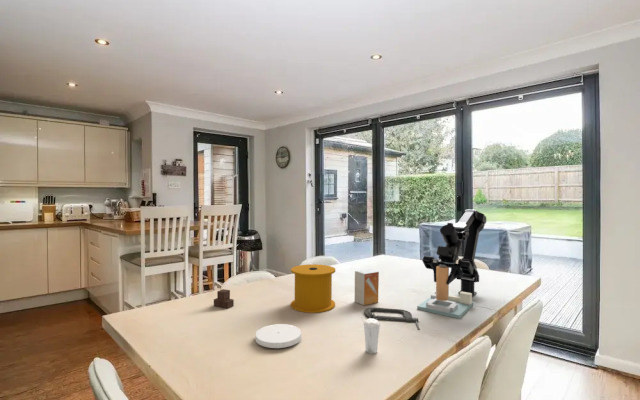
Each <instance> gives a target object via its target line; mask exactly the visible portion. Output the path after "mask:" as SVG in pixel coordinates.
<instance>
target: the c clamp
mask: <svg viewBox="0 0 640 400" xmlns="http://www.w3.org/2000/svg"><path fill="white" fill-rule="evenodd" d="M363 312H364V315H366V317H368V319H369V318H372V319H375V320H382V321H383V320H384V321H396V322H405V323H415V326H416V328H417V330H418V331H420V330H421V329H420V326H419V318H418V317H413V314H412V313H411V311H409V310H405V309H402V308H401V309H399V308H387V307H375V306H374V307H366V308H364V311H363ZM375 313H390V314H399V315H402V316H403V317H402V316H390V315H389V316H387V315H376V314H375Z"/></svg>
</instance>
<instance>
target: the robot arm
mask: <svg viewBox="0 0 640 400" xmlns="http://www.w3.org/2000/svg"><path fill="white" fill-rule="evenodd" d="M486 224H487V216H486V215H485V213H481V212H480V211H478V210H477V209H465V210H464V212H463V215H462V216H461V218H460V219H459V220H458V222H455V223H453V222H447V224H445V225H443V226H441V228H440V229H439V232H440V234H441V237H442V240H443V242H444V243H445V246H442V245H438V246H437V250H436V255H438V259H439V260H438V259H435V257H434V256H429V255H424V256H423V257H422V259H421V260H422V261H421V262H422V264H424V267H425V268H426V269H428V270H432V272H433V282H434V283H436V266H439V265H441V264H442V265H446V267H449V269H450V271H449V277H448V280H447V285H450V284H451V283H452V282H453V281H454V280H460V291H458V292H457V293H458V294H459V295H460V292H468V293H472V297H474V296H475V295H476V294H477V291H475V283H479V282H480V275H479V272H478V269H477V268H478V267H477V264H476V263H475V256H476V251H477V246H478V240H479V235H480V233H481V231H483V230H484V228H485V225H486ZM462 241H466V242H465V248H464V252H463V257H462V258H459V254H460V252H461V250H462V249H463V246H462V245H463V243H462Z"/></svg>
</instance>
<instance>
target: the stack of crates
mask: <svg viewBox="0 0 640 400" xmlns="http://www.w3.org/2000/svg"><path fill="white" fill-rule="evenodd" d="M234 301H235V300H234V299H233V298H231V290H230V289H222V288H221V289H220V290H217V298H214V299H213V307H215V308H220V309H221V308H222V309H227V310H228V309H231V308H233V307H234V304H235V303H234Z"/></svg>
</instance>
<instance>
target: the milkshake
mask: <svg viewBox="0 0 640 400" xmlns="http://www.w3.org/2000/svg"><path fill="white" fill-rule="evenodd" d="M361 319H363V318H362V316H361ZM380 327H381V324H380V322H379V319H372V318H369V317H368V318H367V319H365V320H363V330H364V344H365V345H364V347H365V353H367V354H371V355H375V354H377V353H378V344H379V335H380Z"/></svg>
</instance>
